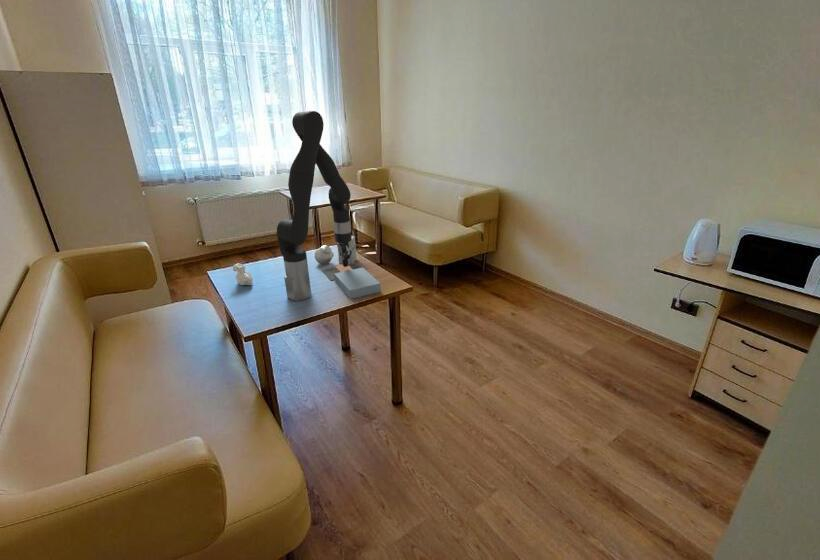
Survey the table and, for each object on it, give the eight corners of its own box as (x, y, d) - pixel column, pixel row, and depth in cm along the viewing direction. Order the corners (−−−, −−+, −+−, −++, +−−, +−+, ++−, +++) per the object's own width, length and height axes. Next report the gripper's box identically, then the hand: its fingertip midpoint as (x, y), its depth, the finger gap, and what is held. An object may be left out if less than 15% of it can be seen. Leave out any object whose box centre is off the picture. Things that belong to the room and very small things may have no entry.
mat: (365, 273, 196) (365, 273, 196) (330, 281, 189) (330, 280, 189) (354, 263, 208) (354, 263, 208) (321, 270, 201) (321, 270, 200)
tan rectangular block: (353, 275, 194) (353, 269, 193) (341, 278, 191) (340, 272, 190) (347, 269, 201) (346, 263, 200) (335, 271, 199) (334, 265, 197)
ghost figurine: (322, 269, 202) (320, 250, 198) (312, 263, 209) (310, 245, 205) (337, 264, 208) (335, 245, 204) (327, 259, 214) (325, 241, 210)
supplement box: (352, 264, 207) (351, 240, 202) (338, 263, 209) (336, 239, 203) (356, 258, 214) (355, 235, 209) (343, 258, 215) (341, 235, 210)
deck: (380, 291, 178) (380, 283, 177) (350, 298, 173) (349, 290, 171) (363, 275, 195) (362, 267, 193) (334, 281, 189) (334, 273, 187)
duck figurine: (241, 283, 193) (222, 269, 186) (253, 271, 195) (234, 257, 187) (249, 292, 185) (229, 278, 177) (261, 279, 186) (241, 265, 178)
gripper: (355, 233, 181) (358, 269, 189) (345, 225, 192) (348, 260, 199) (339, 236, 178) (342, 272, 185) (329, 228, 189) (333, 263, 196)
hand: (345, 266), depth 192 cm, fingers closed
